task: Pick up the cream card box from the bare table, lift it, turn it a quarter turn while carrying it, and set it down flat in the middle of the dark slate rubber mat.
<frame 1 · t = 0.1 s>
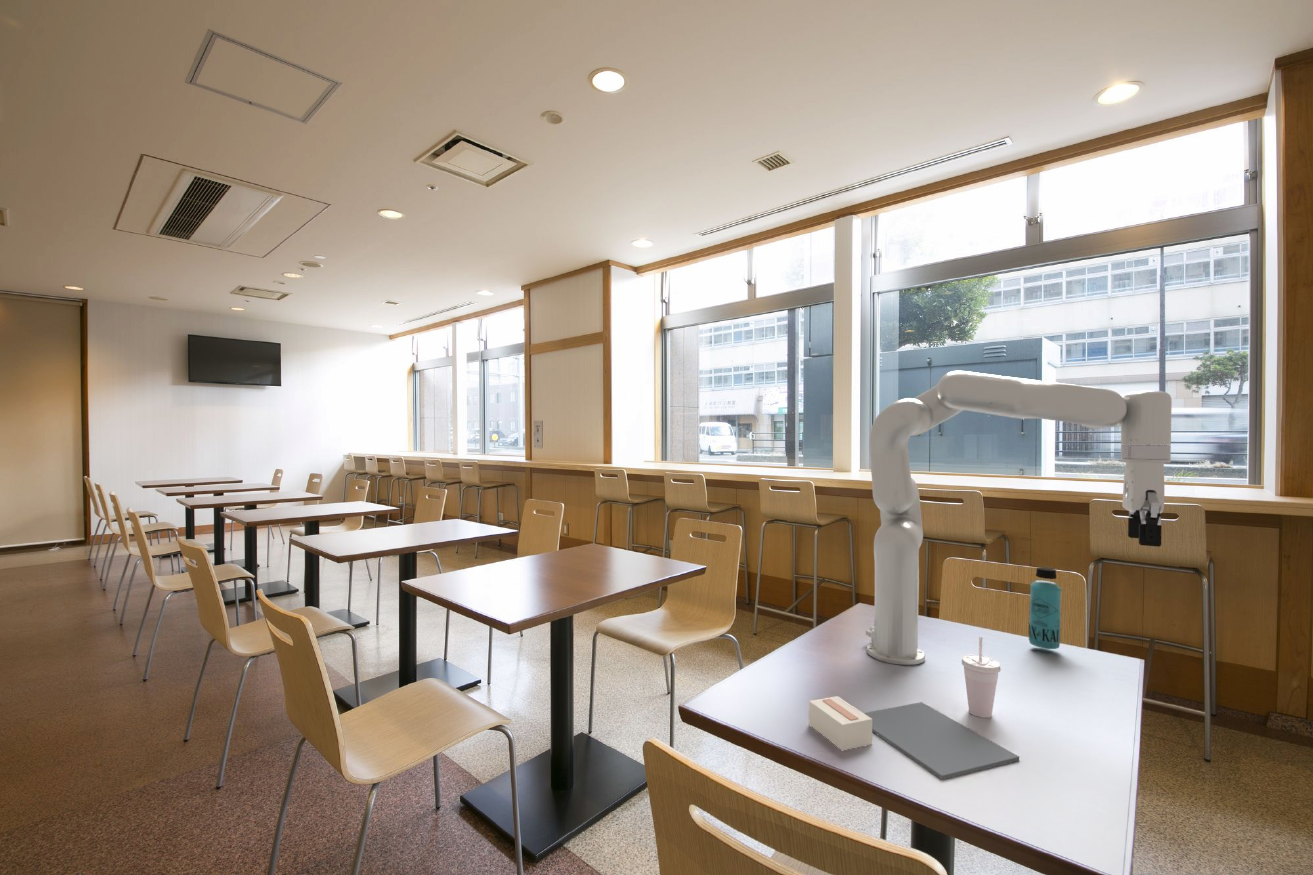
hand: (1143, 541, 115), 31 cm above the table, tool pointing down, fingers open, 9 cm apart
mat: (930, 737, 99), on the table
beverage bottle: (1044, 651, 142), on the table
card box: (839, 735, 100), on the table
smoothie: (980, 714, 109), on the table
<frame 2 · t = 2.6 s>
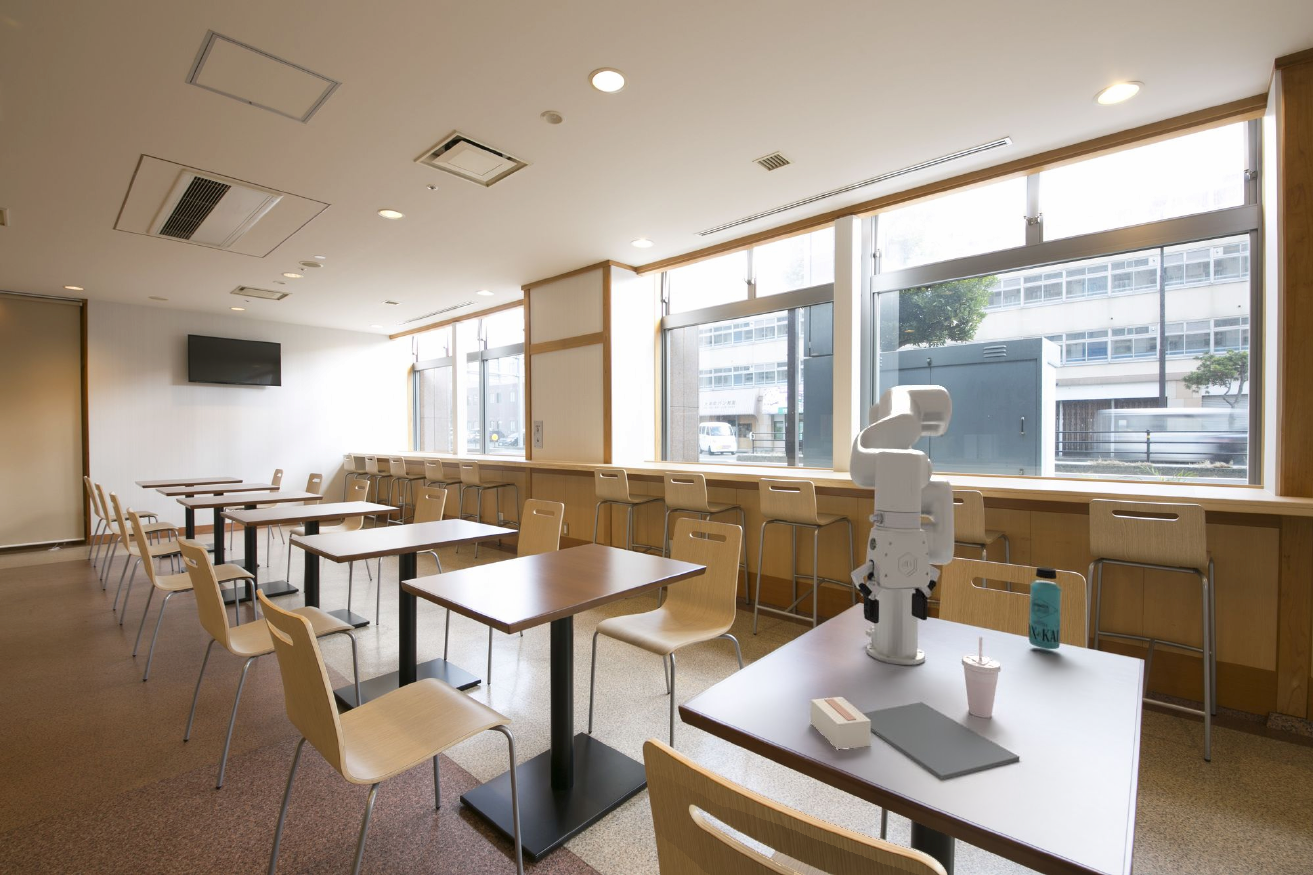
hand: (895, 619, 102), 19 cm above the table, tool pointing down, fingers open, 9 cm apart
nothing on the table moved.
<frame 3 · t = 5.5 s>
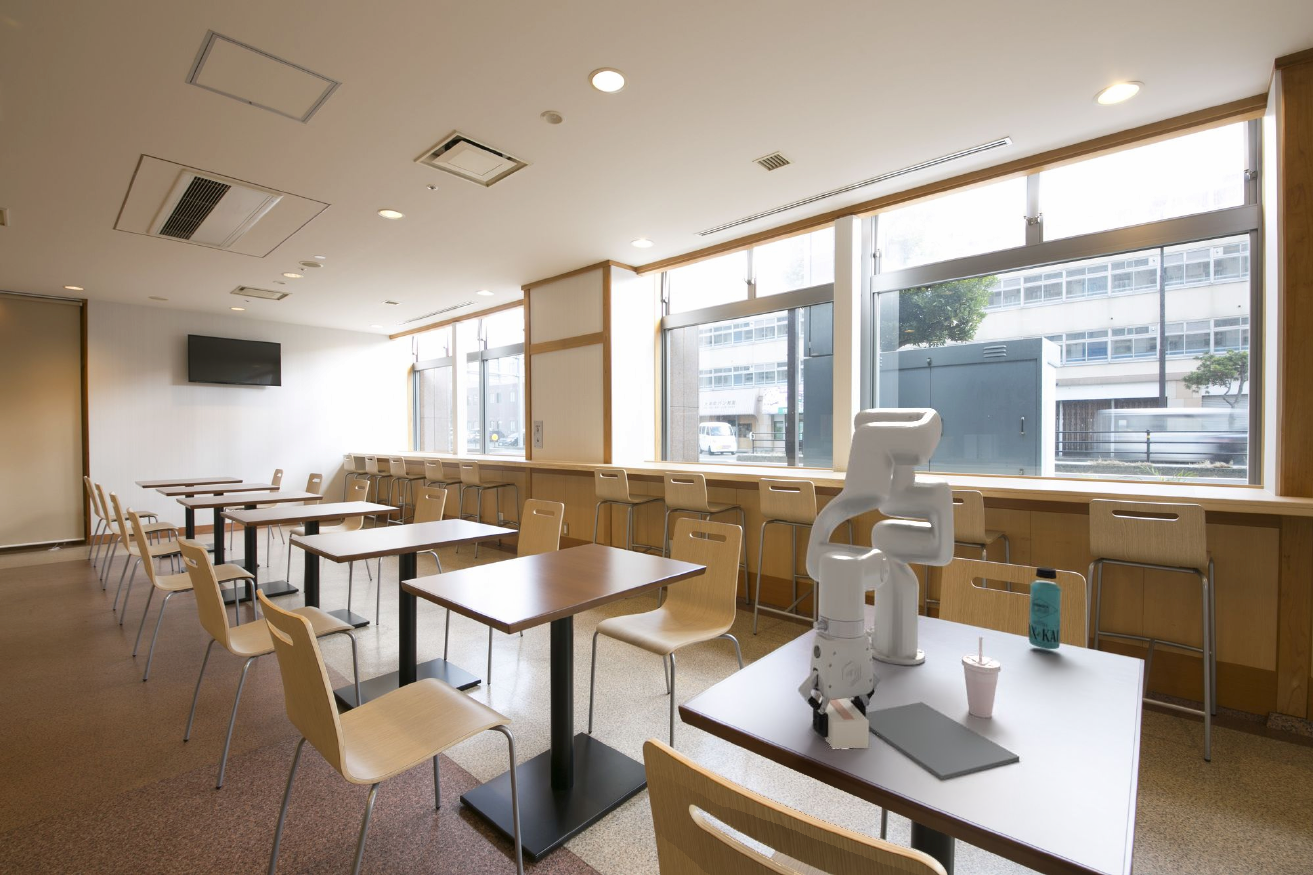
hand: (839, 729, 100), 1 cm above the table, tool pointing down, fingers closed on card box, 7 cm apart
card box: (839, 735, 100), on the table, touching gripper
everything else where it was.
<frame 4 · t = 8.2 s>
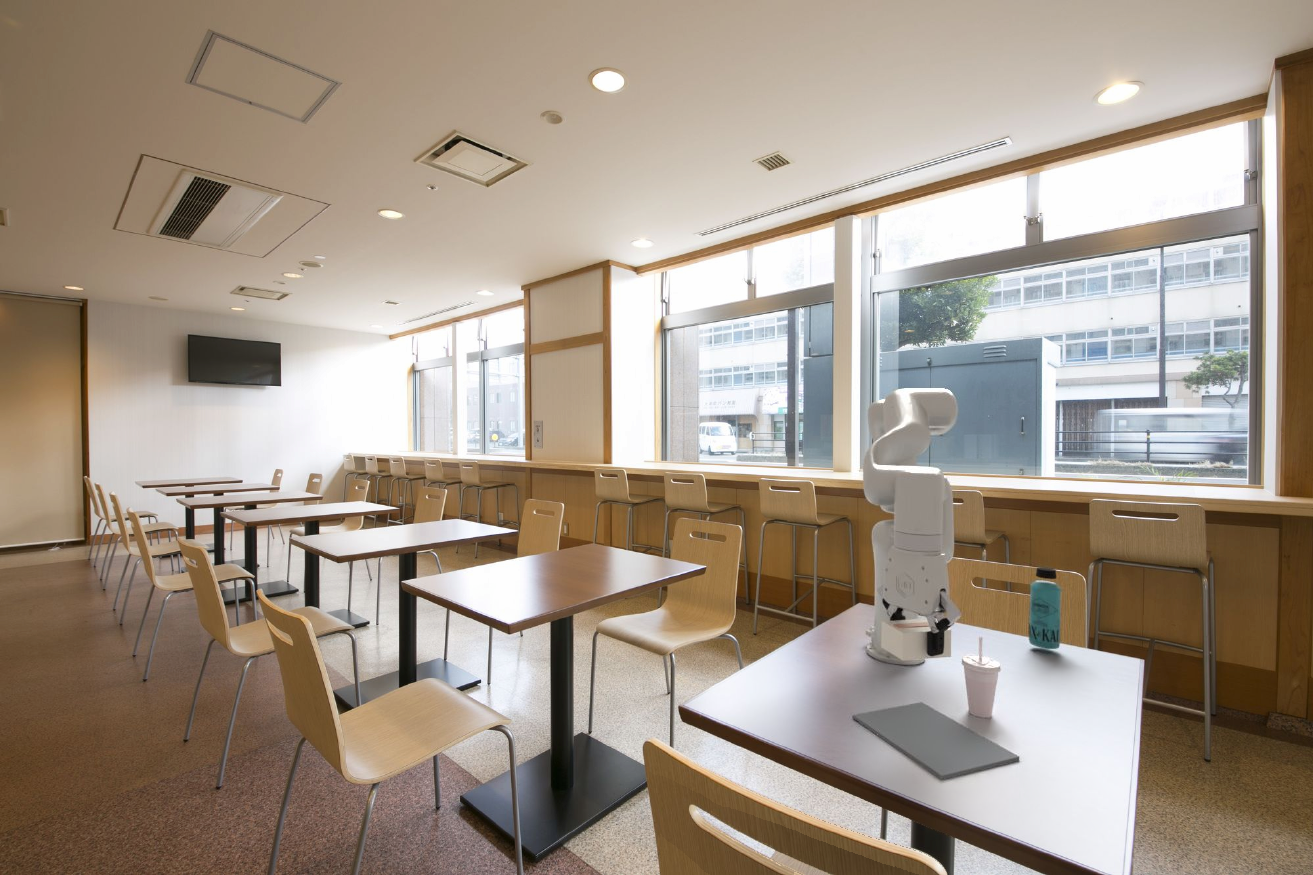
hand: (915, 645, 100), 15 cm above the table, tool pointing down, fingers closed on card box, 7 cm apart
card box: (915, 651, 100), point 14 cm above the table, touching gripper
everything else where it was.
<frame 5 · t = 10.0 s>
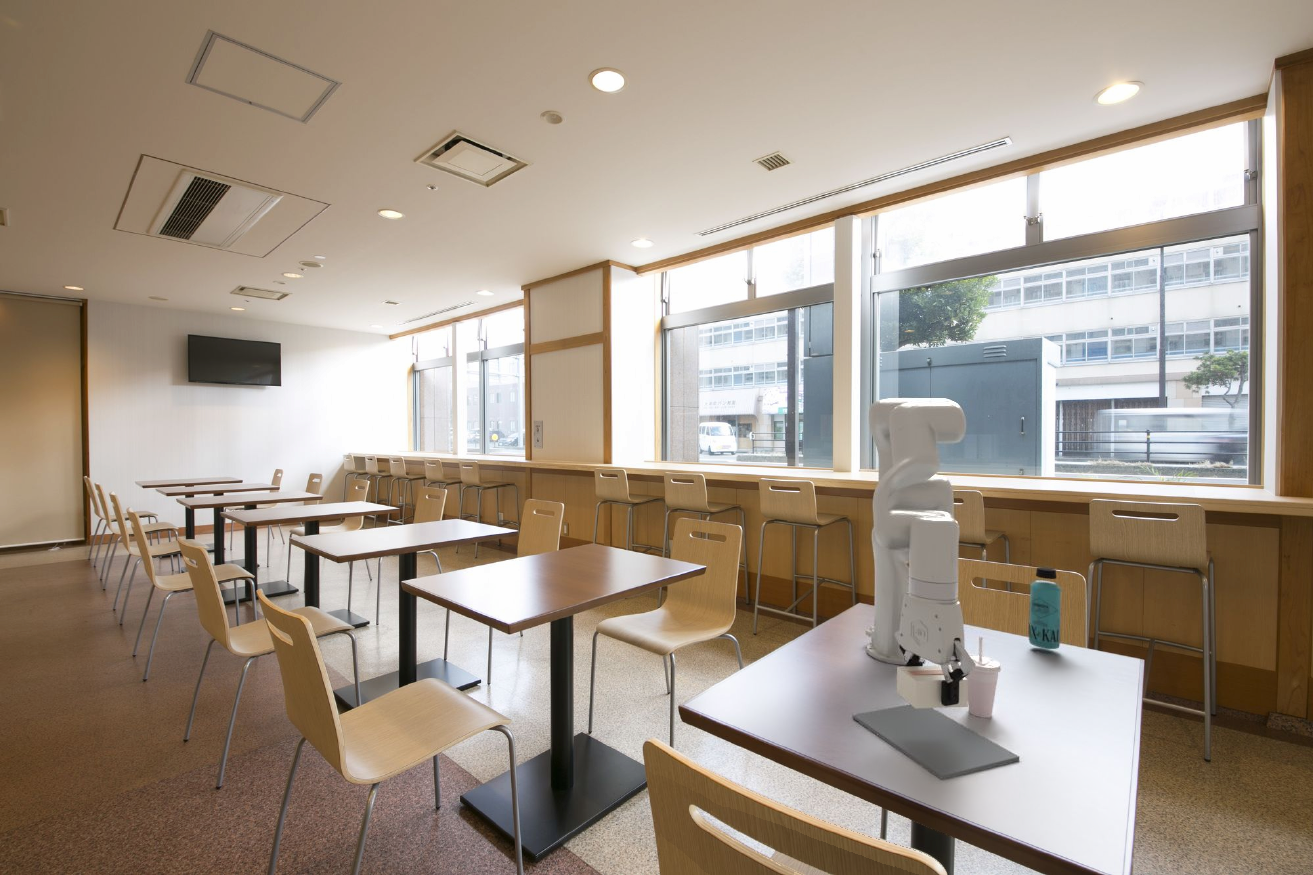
hand: (931, 693, 99), 8 cm above the table, tool pointing down, fingers closed on card box, 7 cm apart
card box: (931, 699, 99), point 7 cm above the table, touching gripper
everything else where it was.
when the fingers open (3 cm above the table, at t = 11.4 s): card box drops 1 cm, resting on mat.
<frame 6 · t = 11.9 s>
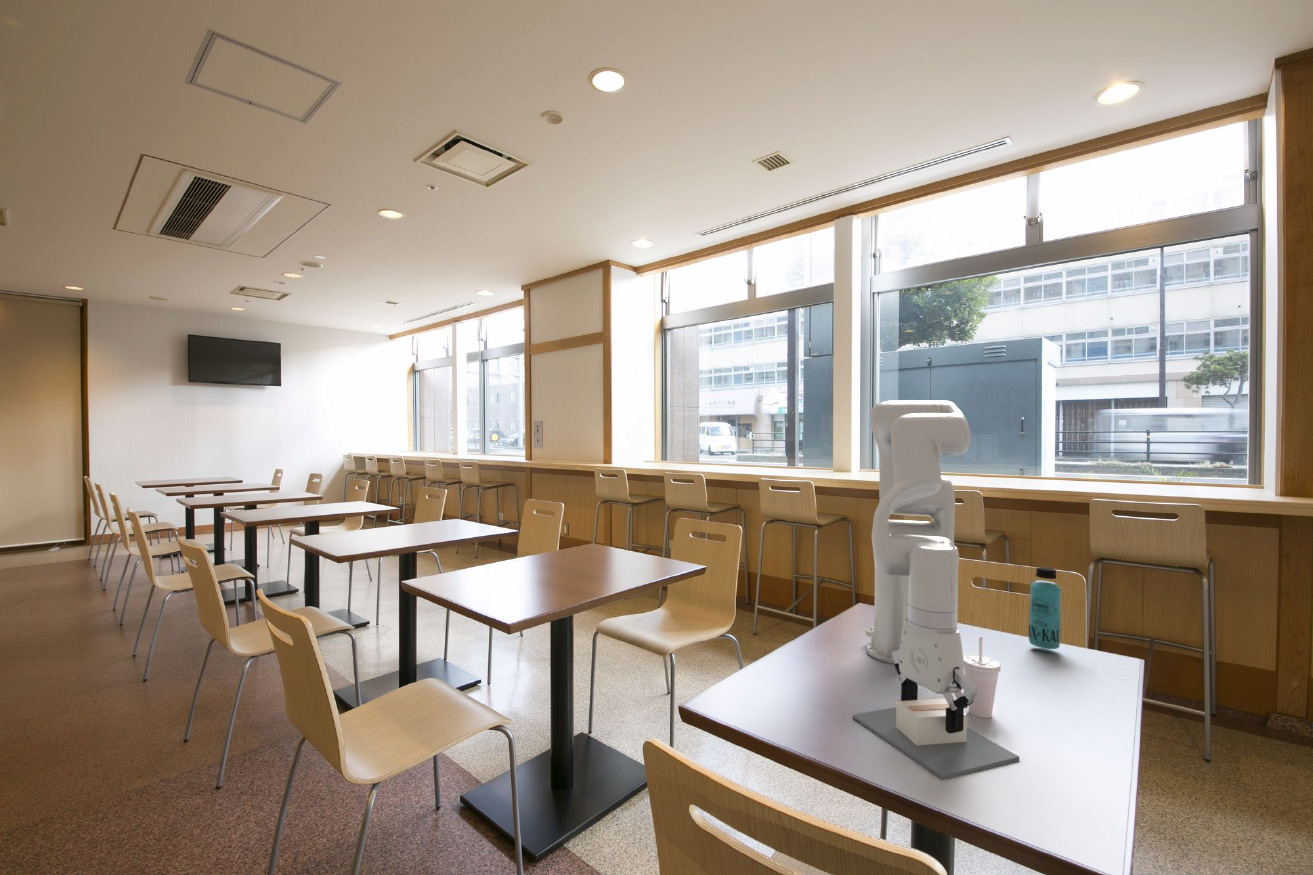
hand: (930, 717, 99), 3 cm above the table, tool pointing down, fingers open, 9 cm apart
card box: (930, 734, 99), point 1 cm above the table, touching mat
everything else where it was.
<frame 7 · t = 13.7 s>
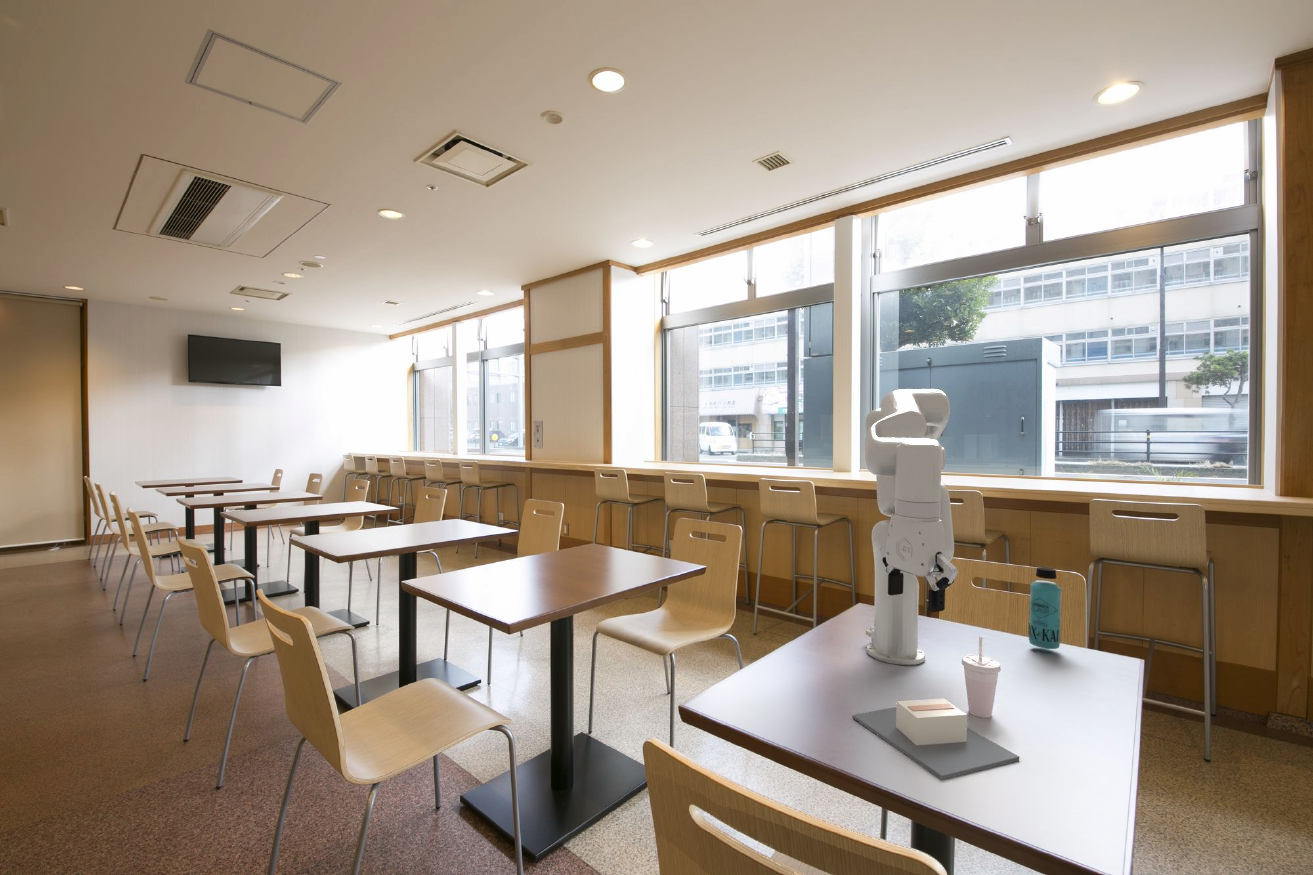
hand: (915, 602, 107), 21 cm above the table, tool pointing down, fingers open, 9 cm apart
nothing on the table moved.
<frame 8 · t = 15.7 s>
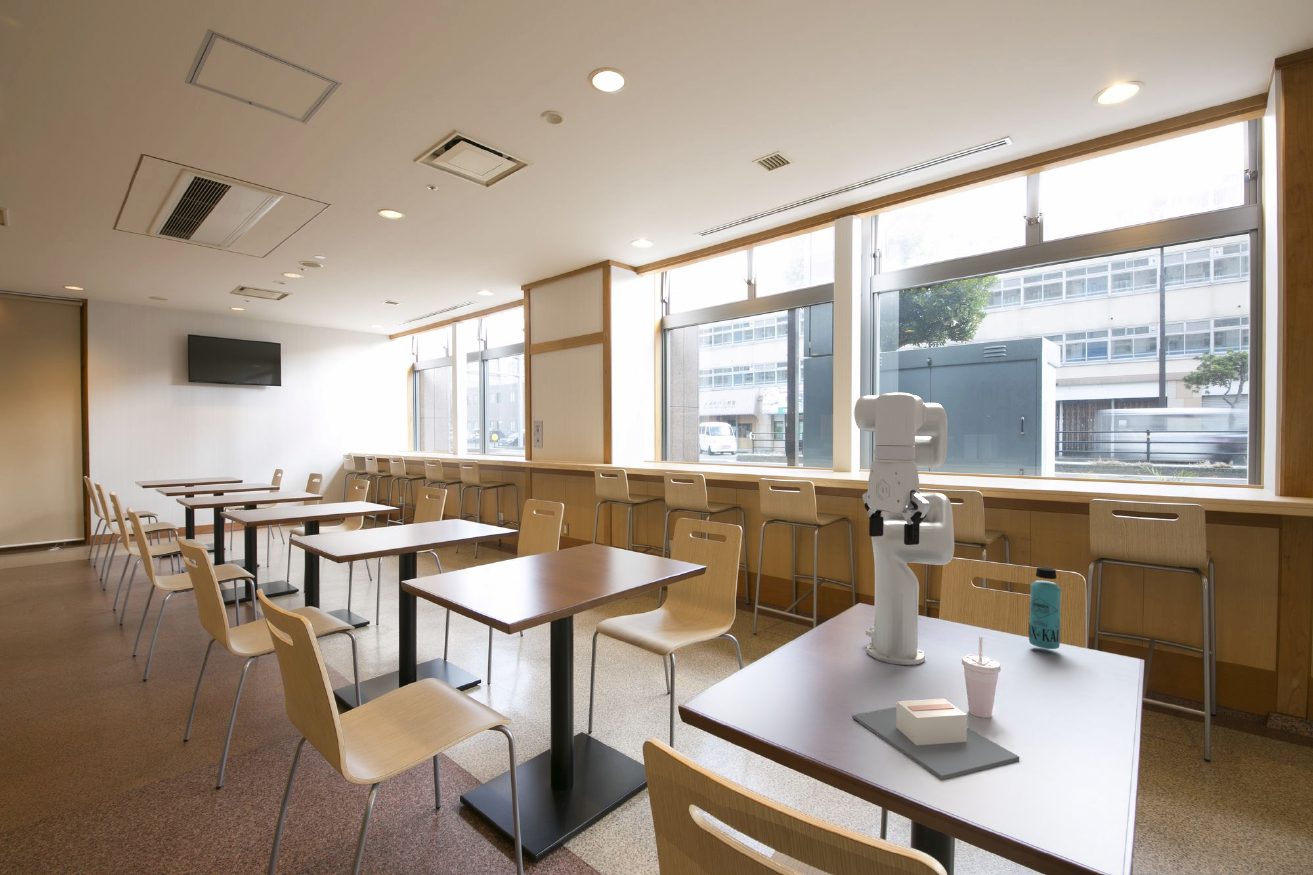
hand: (893, 540, 118), 30 cm above the table, tool pointing down, fingers open, 9 cm apart
nothing on the table moved.
at the end: card box inside the target area on the mat (0.0 cm from its centre), point 0.6 cm above the mat's base; card box tilted 0°; the gripper is holding nothing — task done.
